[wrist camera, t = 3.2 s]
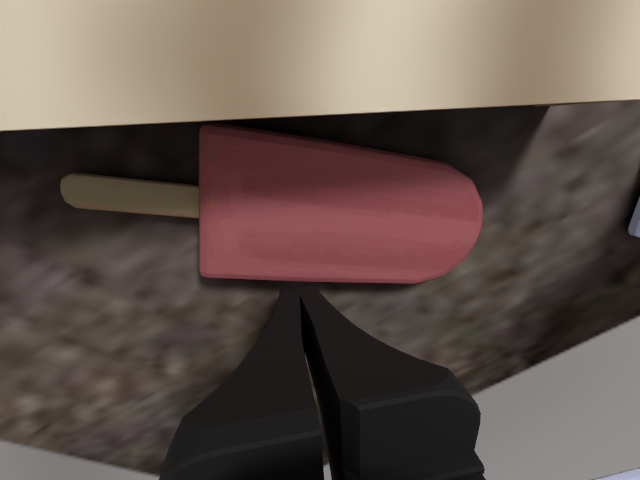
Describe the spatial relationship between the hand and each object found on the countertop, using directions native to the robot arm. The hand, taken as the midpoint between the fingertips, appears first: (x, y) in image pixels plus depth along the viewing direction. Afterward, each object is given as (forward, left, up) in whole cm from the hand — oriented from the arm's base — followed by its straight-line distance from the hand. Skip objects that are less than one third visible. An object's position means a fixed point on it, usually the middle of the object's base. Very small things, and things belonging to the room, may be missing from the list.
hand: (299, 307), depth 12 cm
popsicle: (0, -4, -2) cm, 4 cm away
